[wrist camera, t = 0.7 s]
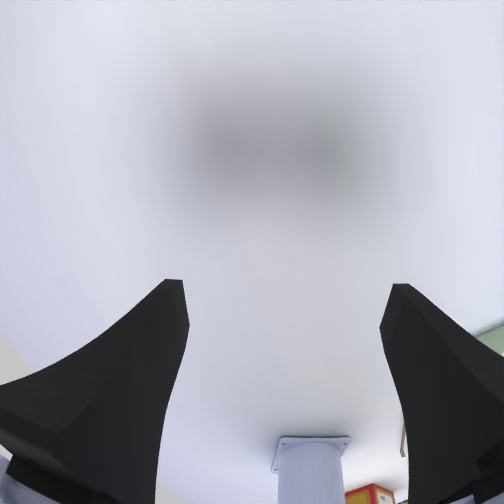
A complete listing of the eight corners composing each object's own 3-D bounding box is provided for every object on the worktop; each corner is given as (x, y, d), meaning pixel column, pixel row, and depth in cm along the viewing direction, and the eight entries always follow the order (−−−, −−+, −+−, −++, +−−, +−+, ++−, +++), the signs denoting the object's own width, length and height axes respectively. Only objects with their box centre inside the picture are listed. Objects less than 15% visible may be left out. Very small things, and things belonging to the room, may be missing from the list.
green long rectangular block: (420, 376, 25) (431, 401, 22) (422, 355, 24) (435, 381, 21) (518, 334, 23) (533, 353, 19) (523, 312, 22) (540, 331, 18)
